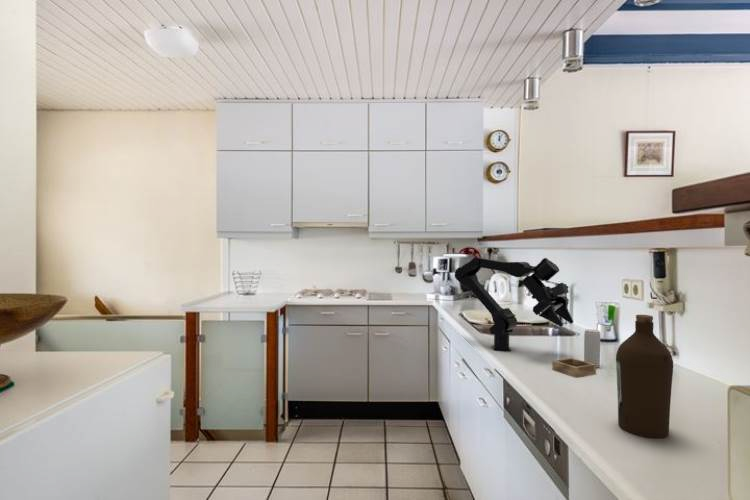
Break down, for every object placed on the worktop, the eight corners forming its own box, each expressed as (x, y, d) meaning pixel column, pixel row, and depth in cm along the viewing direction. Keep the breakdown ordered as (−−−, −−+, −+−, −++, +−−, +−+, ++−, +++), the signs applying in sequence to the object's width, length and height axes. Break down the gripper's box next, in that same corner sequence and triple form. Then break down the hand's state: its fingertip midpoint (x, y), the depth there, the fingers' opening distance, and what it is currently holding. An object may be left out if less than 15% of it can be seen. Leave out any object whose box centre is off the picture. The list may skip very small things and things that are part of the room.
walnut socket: (552, 369, 138) (552, 360, 138) (571, 366, 142) (571, 357, 142) (576, 377, 130) (576, 368, 130) (595, 373, 134) (596, 364, 134)
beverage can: (596, 364, 144) (596, 329, 144) (602, 368, 140) (603, 332, 140) (581, 364, 145) (582, 329, 145) (587, 368, 140) (587, 331, 140)
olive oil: (675, 428, 93) (676, 315, 93) (668, 445, 85) (670, 321, 85) (620, 415, 100) (622, 310, 100) (610, 429, 92) (611, 315, 92)
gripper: (543, 276, 144) (575, 313, 137) (564, 274, 157) (594, 307, 150) (520, 296, 150) (549, 333, 143) (542, 292, 163) (570, 326, 156)
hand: (567, 324), depth 148 cm, fingers open, 9 cm apart
